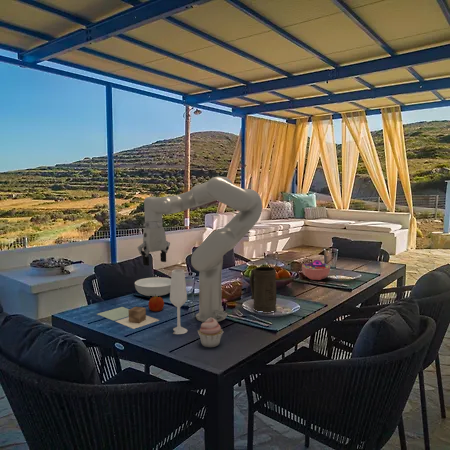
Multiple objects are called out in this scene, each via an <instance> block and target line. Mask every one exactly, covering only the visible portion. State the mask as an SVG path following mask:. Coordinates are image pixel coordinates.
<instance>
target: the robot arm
mask: <svg viewBox="0 0 450 450" xmlns="http://www.w3.org/2000/svg"><path fill="white" fill-rule="evenodd" d="M215 201H218V202H220V203H222V204H224V206H225V205H226V206H227V207H229V208H231V209H234V210H236V211H238V213H237V214H236V215H234V216H233V217H232V218H231V220H229V222H228V223H227V224H226V225H225V226H223V227H221V228H218V229H217V230H214V231H213V232H211V234H209V235H208V236H207V238H206V239H205V240H204V241H203V242H202V243H201V244H200V245H199V246H198V247H197V248H196V249H195V250H194V251H193V253H192V254H191V258H190V262H191V266H192V267H193V269H194V270H196V271H198V272H199V275H198V291H199V292H198V299H199V301H198V303H199V304H198V305H199V307H198V309H199V312H198V313H196V314H195V319H196V320H197V321H199V322H202V323H204V322H206V320H207V319H208V318H214V319H215V320H216V321H217V322H218V323H219V322H221V321H223V320H226V318H227V316H228V313H227V312H224V308H223V307H222V306H223V305H222V304H223V303H222V302H223V301H222V280H223V279H222V274H223V273H222V272H223V262H224V261H223V260H224V255H226V254H227V253H228V252H229V251H231V250H233V249H234V248H235V247H236V246H237V245H238V244H239V242H240V241H242V239H243V238H244V237H245V236H246V235H247V234H248V233H249V232H250V230H252V229H253V228H254V227H255V225H256V224H257V223H258V221H259V219H260V218H261V215H262V213H263V212H262V211H263V202H262V199H261V196H260V194H259V193H258V192H257V191H256V190H255V189H251V188H241V187H240V186H238V185H235V184H233V182H232V180H231V178H228V177H226V176H214V177H211V178H210V179H208V181H206V182H203V183H199V184H196V185H194V186H192V187H191V189H190V190H188V191H186V192H182V193H180V194H177V195H170V196H161V197H159V196H147V197H145V198H144V201H143V202H144V203H143V204H144V205H143V206H144V223H143V228H144V229H143V235H142V243H141V244H140V245H139V246H137V250H138V252H139V254H140V255H141V256H142V264H143V266H147V267H148V266H150V256H149V254H150V253H154V252H159V251H160V262H163V263H166V262H167V253H168V250H169V249H170V246H171V242H169V241H168V240H167V235H166V231H165V228H164V227H163V215H171V214H176V213H177V214H178V213H180V212H184V211H187V210H189V209H192V208H196V207H200V206H203V205H206V204H209V203H212V202H215Z"/></svg>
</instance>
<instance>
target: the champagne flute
mask: <svg viewBox="0 0 450 450" xmlns="http://www.w3.org/2000/svg"><path fill="white" fill-rule="evenodd" d="M170 277H171V278H170V279H171V290H170V293H169V301H170V302H171V304H172V306H174V307H176V310H177V311H176V313H177V314H176V315H177V316H176V317H177V318H176V319H177V322H176V323H177V326H176V327H173V329H172V330H173V331H172V334H173V335H184V334H186V333H188V329H187V328H185V327H183V326H182V325H181V307H183V306H184V304H185V303H186V302H187V301H188V295H187V294H188V293H187V283H186V275H185V270H184V269H173V270H171V276H170Z"/></svg>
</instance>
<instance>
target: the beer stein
mask: <svg viewBox="0 0 450 450" xmlns="http://www.w3.org/2000/svg"><path fill="white" fill-rule="evenodd" d="M250 271H251V272H250V273H251V274H250V277H249V285H250V286H249V287H250V290H251V297H250V300H253V306H252V309H253V308H254V309H255V310H257V311H263V312H271V311H275V312H276V311H277V306H276V305H277V281H276V280H277V279H276V275H277V274H276V273H277V272H276V268H274V267H271V266H270V267H269V266H259V267H256V268H253V269H252V268H251V270H250Z"/></svg>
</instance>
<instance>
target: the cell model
mask: <svg viewBox="0 0 450 450" xmlns="http://www.w3.org/2000/svg"><path fill="white" fill-rule="evenodd" d="M301 271H302V274H303V275H304V276H305V277H306V278H308V279H309V280H313V281H321V280H323V279H326V278H327V277H329V275H330V272H331V266H330V264H328V263H323V261H321V260H319V259H314V260H313V261H312V262H305V263H302V265H301Z"/></svg>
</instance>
